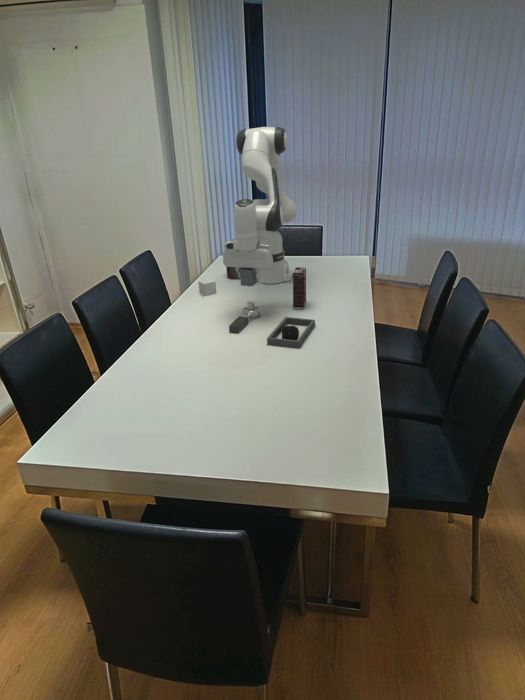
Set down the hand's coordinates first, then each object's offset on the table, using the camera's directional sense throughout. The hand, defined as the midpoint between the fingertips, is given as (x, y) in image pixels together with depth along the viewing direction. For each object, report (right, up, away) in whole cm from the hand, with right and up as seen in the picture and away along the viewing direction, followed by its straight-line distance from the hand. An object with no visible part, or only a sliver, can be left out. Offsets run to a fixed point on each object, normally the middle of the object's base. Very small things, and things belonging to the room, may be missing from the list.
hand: (249, 278), depth 194 cm
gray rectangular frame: (+16, -23, -12) cm, 31 cm away
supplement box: (+21, -10, +15) cm, 28 cm away
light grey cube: (-20, -2, +36) cm, 42 cm away
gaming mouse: (+16, -25, -14) cm, 32 cm away
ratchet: (-2, -18, +1) cm, 18 cm away
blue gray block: (0, -2, +1) cm, 2 cm away
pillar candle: (-8, +9, +58) cm, 59 cm away
